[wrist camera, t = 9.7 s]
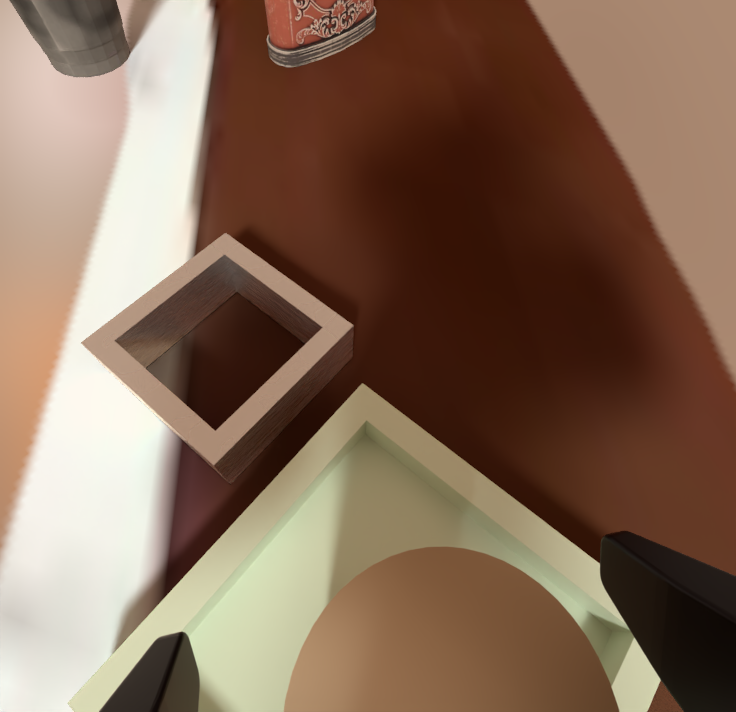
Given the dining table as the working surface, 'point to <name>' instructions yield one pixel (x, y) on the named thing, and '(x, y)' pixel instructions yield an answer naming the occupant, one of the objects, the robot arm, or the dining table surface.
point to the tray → (357, 561)
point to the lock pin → (447, 643)
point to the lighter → (315, 28)
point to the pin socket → (191, 306)
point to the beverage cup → (77, 34)
